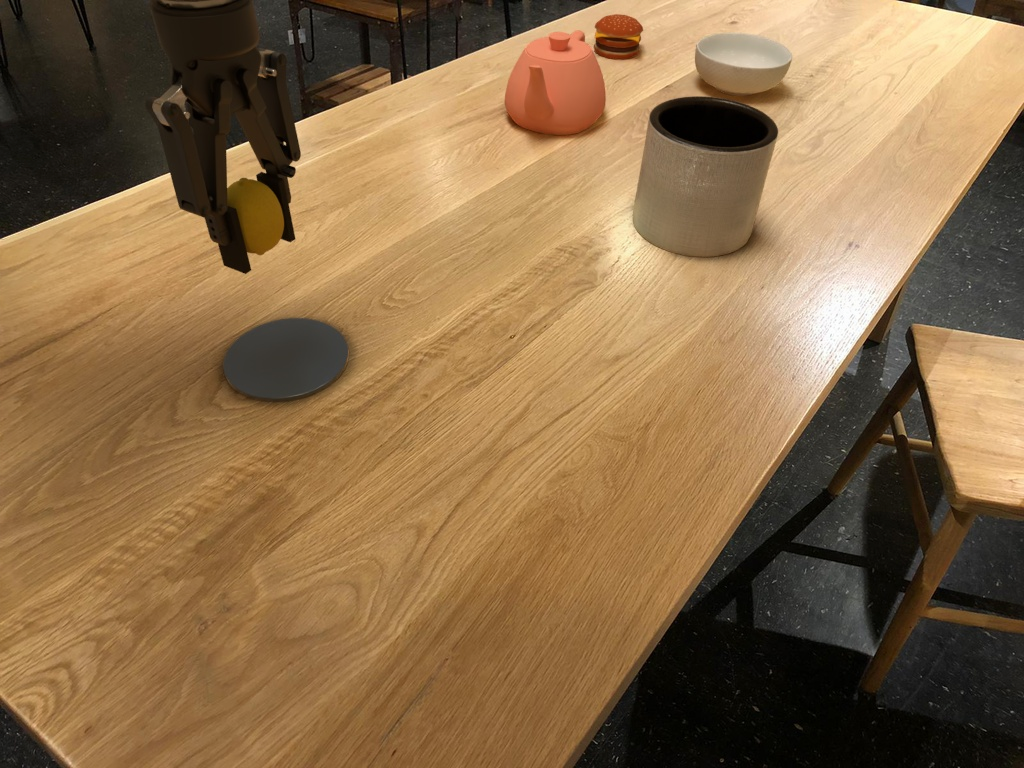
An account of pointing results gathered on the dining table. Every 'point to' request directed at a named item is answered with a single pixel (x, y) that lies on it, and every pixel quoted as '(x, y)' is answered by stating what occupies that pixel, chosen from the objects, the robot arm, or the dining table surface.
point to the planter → (702, 175)
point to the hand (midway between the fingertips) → (260, 251)
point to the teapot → (556, 85)
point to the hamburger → (617, 36)
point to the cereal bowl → (741, 62)
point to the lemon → (257, 214)
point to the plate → (286, 360)
